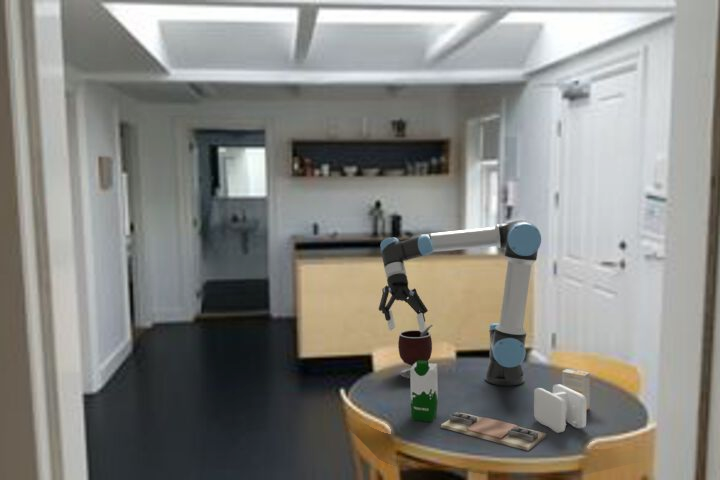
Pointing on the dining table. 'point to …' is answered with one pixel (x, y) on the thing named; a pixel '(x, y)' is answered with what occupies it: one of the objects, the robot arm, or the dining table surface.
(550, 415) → the cable organizer
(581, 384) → the supplement box
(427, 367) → the soya milk
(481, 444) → the dining table surface
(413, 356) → the mate gourd
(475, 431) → the board with end clamps
